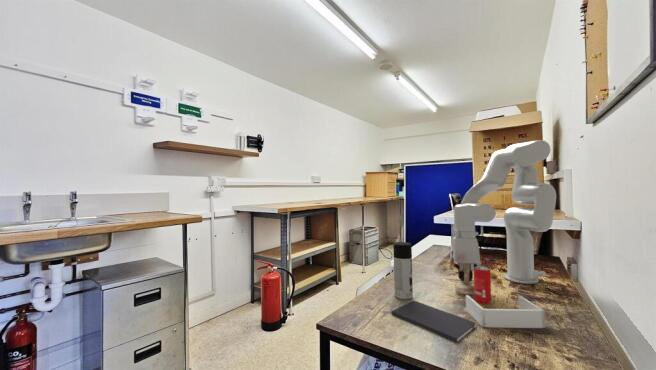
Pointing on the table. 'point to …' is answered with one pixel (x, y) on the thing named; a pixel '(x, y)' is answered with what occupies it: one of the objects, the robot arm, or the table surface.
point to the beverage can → (482, 285)
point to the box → (508, 315)
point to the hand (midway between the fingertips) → (465, 279)
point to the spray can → (403, 270)
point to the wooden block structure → (465, 282)
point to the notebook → (435, 320)
